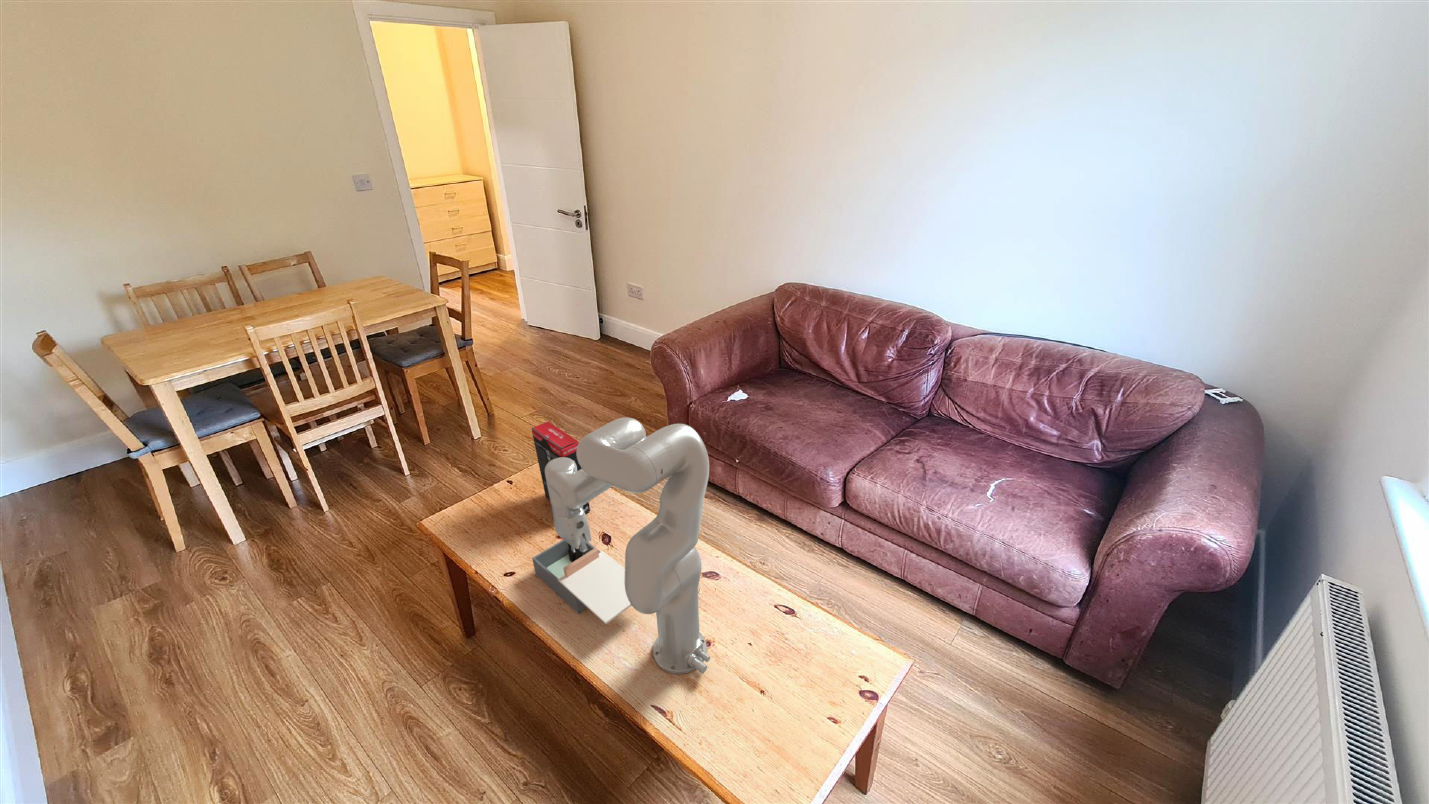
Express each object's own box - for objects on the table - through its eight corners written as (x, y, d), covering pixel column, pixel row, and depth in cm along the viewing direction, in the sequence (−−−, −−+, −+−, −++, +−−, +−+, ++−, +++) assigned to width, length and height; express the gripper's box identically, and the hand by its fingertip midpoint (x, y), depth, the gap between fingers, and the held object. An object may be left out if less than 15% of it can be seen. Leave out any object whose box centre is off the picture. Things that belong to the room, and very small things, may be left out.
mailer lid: (651, 590, 143) (650, 581, 142) (606, 624, 135) (604, 615, 133) (602, 552, 156) (601, 544, 154) (558, 581, 147) (556, 572, 145)
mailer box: (621, 583, 154) (619, 566, 151) (578, 613, 145) (574, 596, 143) (578, 548, 166) (575, 532, 164) (535, 574, 158) (532, 558, 155)
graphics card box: (592, 512, 181) (581, 438, 168) (573, 523, 176) (560, 448, 163) (561, 489, 191) (549, 419, 178) (543, 499, 187) (529, 427, 174)
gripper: (597, 510, 141) (605, 565, 150) (562, 485, 150) (572, 539, 159) (571, 525, 136) (581, 581, 145) (537, 498, 145) (548, 553, 154)
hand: (576, 559), depth 152 cm, fingers closed
